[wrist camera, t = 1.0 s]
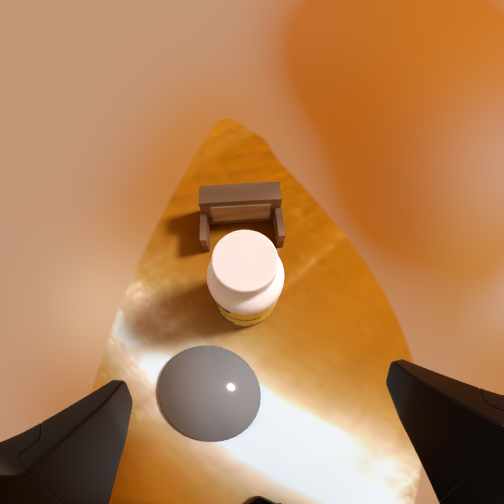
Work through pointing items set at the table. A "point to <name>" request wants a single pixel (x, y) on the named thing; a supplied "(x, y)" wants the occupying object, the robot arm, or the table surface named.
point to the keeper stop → (240, 207)
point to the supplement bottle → (245, 277)
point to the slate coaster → (209, 393)
